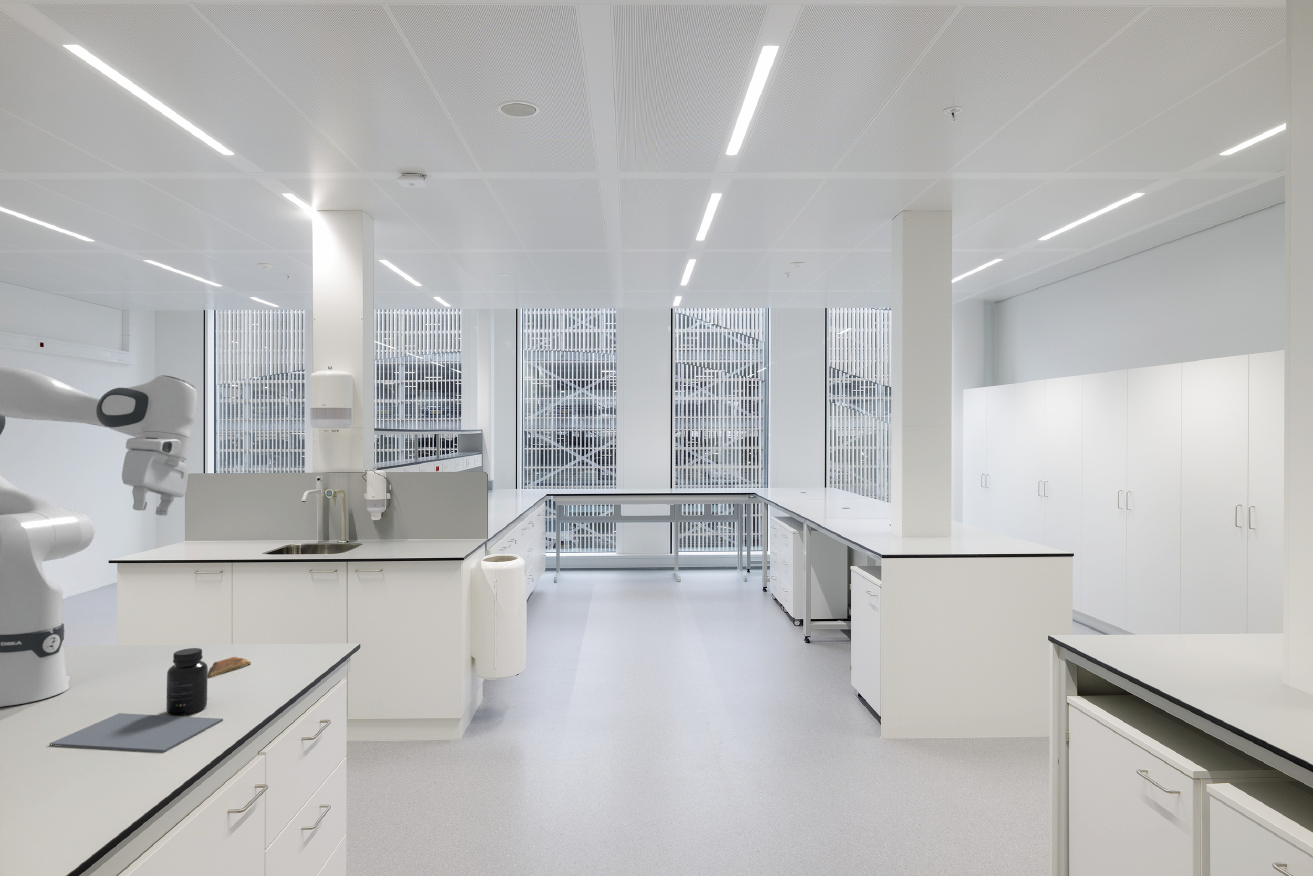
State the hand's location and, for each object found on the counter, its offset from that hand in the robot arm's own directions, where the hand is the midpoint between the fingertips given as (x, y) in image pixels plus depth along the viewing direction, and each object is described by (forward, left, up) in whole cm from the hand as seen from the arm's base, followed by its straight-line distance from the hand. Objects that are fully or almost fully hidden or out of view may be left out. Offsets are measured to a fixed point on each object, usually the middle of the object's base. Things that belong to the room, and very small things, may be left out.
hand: (150, 512), depth 142 cm
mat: (+13, -15, -39) cm, 44 cm away
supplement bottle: (+13, -4, -40) cm, 42 cm away
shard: (+3, +22, -40) cm, 46 cm away
